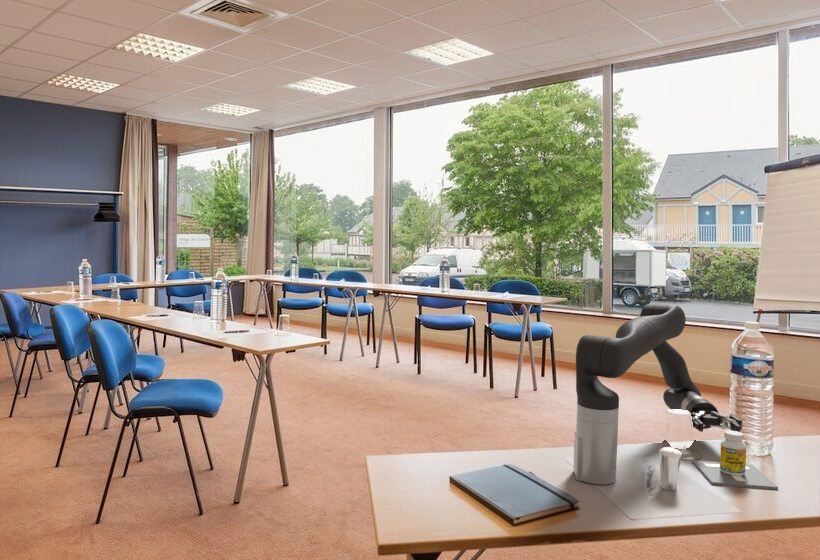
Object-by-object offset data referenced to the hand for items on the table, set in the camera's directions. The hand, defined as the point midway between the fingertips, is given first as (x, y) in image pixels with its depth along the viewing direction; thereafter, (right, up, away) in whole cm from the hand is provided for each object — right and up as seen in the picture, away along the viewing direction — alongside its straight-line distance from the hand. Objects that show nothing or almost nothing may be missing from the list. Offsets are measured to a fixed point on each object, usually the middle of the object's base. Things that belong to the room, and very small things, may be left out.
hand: (719, 428), depth 152 cm
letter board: (-2, -9, -10) cm, 13 cm away
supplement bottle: (-2, -8, -9) cm, 13 cm away
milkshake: (-20, -9, -18) cm, 29 cm away
